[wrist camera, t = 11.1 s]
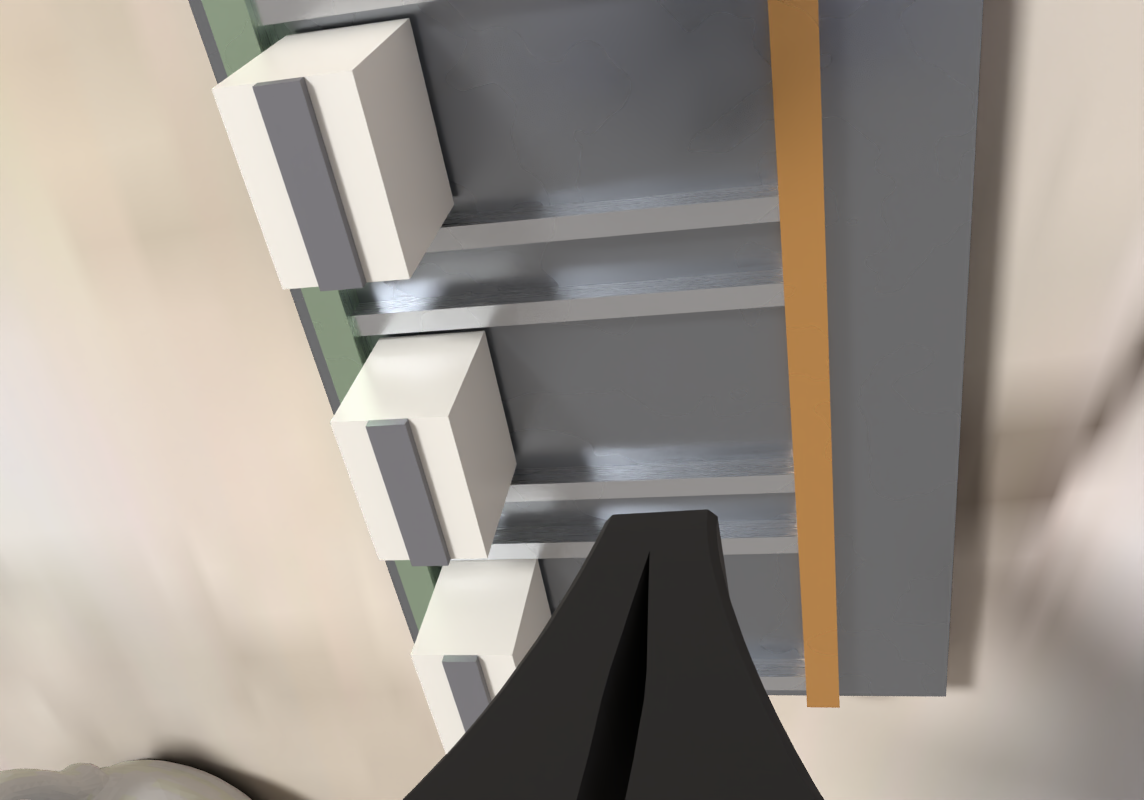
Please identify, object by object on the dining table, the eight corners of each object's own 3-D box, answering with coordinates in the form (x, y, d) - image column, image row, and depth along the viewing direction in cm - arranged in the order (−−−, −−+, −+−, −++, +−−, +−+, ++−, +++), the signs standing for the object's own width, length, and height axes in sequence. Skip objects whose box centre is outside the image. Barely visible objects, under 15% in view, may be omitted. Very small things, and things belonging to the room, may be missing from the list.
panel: (976, -195, 17) (1004, -182, 15) (937, 652, 27) (950, 721, 26) (206, -67, 20) (148, -43, 18) (444, 652, 30) (424, 715, 29)
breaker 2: (484, 330, 22) (445, 421, 19) (516, 463, 24) (485, 564, 21) (379, 337, 22) (326, 428, 20) (419, 468, 24) (376, 567, 21)
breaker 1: (409, 17, 18) (347, 74, 15) (454, 204, 20) (406, 284, 17) (286, 35, 19) (205, 92, 16) (342, 215, 21) (278, 295, 18)
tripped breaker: (536, 556, 25) (510, 661, 22) (561, 656, 27) (539, 765, 24) (445, 558, 26) (407, 662, 23) (475, 656, 28) (444, 762, 25)
